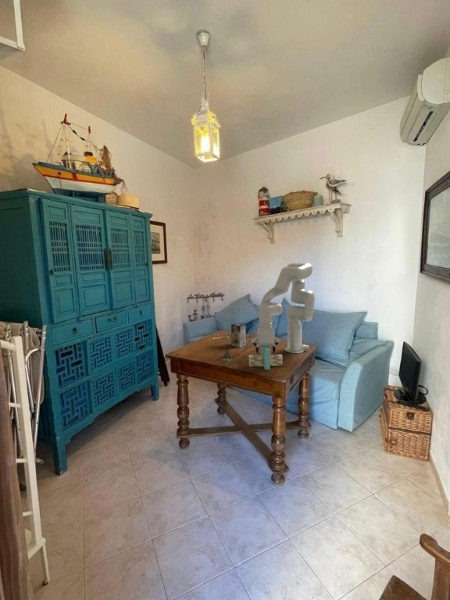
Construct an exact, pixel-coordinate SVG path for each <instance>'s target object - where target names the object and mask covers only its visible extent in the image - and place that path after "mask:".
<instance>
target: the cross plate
mask: <svg viewBox="0 0 450 600" xmlns="http://www.w3.org/2000/svg"><path fill="white" fill-rule="evenodd" d="M270 355H271V349H270V347H269V344H261V356H262V360H263V361H264V366H263V368H264V370H265V371H267V370H268V371H269V370H271V366H270Z"/></svg>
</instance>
